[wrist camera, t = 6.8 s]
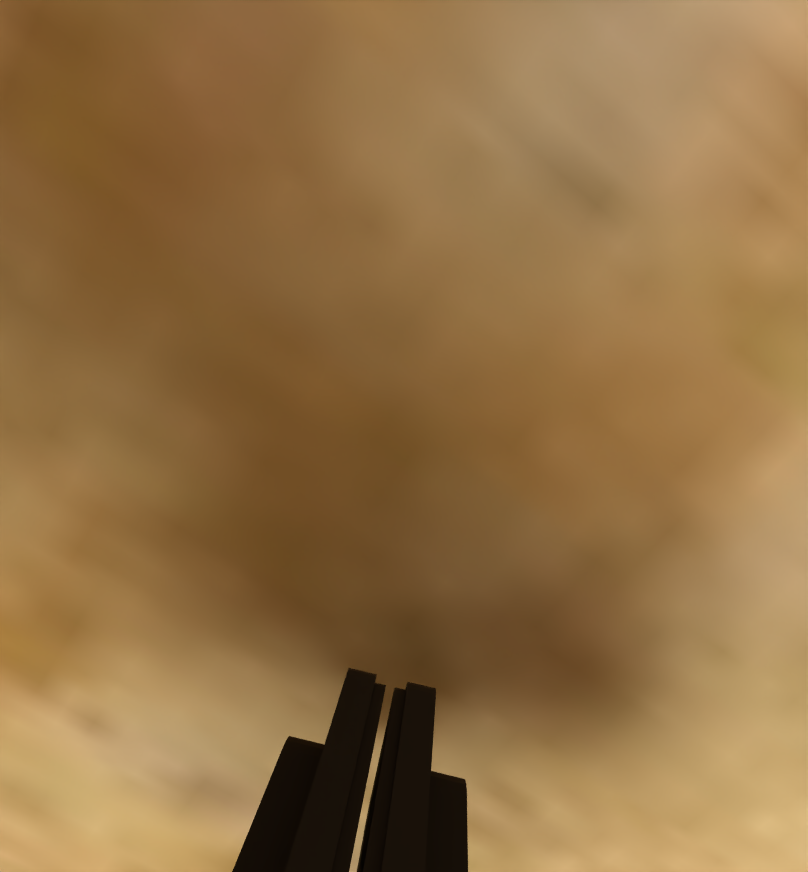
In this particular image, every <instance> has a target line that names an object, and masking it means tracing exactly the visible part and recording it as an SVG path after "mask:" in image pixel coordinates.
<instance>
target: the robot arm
mask: <svg viewBox="0 0 808 872" xmlns="http://www.w3.org/2000/svg"><path fill="white" fill-rule="evenodd" d="M375 680H376V674H372V673H368V672H363V671H359V670H355V669H351V668H349V669H348V672H347V675H346V678H345V681H344V684H343V687H342V691H341V694H340V697H339V700H338V703H337V707H336V710H335V713H334V716H333V719H332V723H331V726H330V729H329V732H328V735H327V739H326V742H325V745H323V744H319V743H315V742H311V741H307V740H303V739H299V738H295V737H291V736H289V737H288V738H287V740H286V742H285V744H284V746H283V749H282V751H281V754H280V756H279V758H278V761H277V763H276V766H275V768H274V771H273V773H272V776H271V778H270V781H269V783H268V785H267V788H266V790H265V793H264V795H263V798H262V800H261V803H260V805H259V808H258V810H257V812H256V815H255V817H254V820H253V822H252V825H251V827H250V830H249V832H248V835H247V837H246V839H245V842H244V844H243V847H242V849H241V852H240V854H239V857H238V859H237V862H236V864H235V866H234V869H233V871H232V872H349V868H350V863H351V858H352V853H353V848H354V843H355V838H356V833H357V828H358V823H359V818H360V813H361V808H362V803H363V798H364V793H365V788H366V783H367V778H368V773H369V768H370V763H371V758H372V753H373V748H374V743H375V738H376V733H377V728H378V722H379V717H380V712H381V707H382V702H383V697H384V692H385V687H386V685H382V684H377V683H375ZM435 699H436V689H435V688H431V687H427V686H423V685H418V684H414V683H410V682H407V685H406V689H405V690H403V689H399V688H395V689H394V693H393V698H392V703H391V707H390V712H389V716H388V721H387V726H386V730H385V735H384V739H383V744H382V749H381V753H380V758H379V762H378V767H377V772H376V776H375V781H374V785H373V790H372V795H371V799H370V804H369V809H368V814H367V819H366V825H365V830H364V836H363V841H362V846H361V852H360V857H359V863H358V868H357V872H468V843H467V789H466V781H465V779H462V778H458V777H454V776H450V775H445V774H441V773H437V772H433V771H431V762H432V746H433V731H434V715H435Z"/></svg>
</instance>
